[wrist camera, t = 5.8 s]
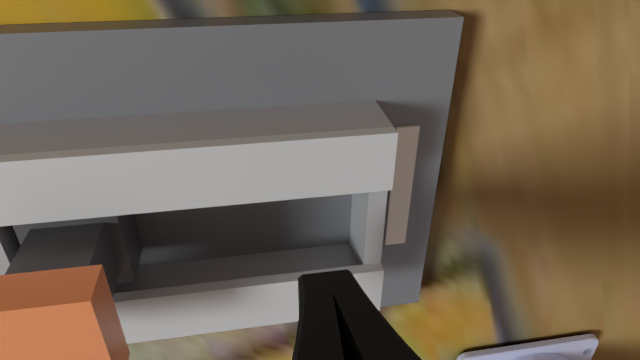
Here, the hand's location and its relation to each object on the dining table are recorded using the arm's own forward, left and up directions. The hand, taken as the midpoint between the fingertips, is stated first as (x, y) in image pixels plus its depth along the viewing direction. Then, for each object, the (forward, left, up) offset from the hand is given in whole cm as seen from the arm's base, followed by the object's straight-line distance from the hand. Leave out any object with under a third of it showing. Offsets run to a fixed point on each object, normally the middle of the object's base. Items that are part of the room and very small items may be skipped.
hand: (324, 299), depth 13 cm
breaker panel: (0, +3, -6) cm, 6 cm away
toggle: (0, +7, -5) cm, 8 cm away
